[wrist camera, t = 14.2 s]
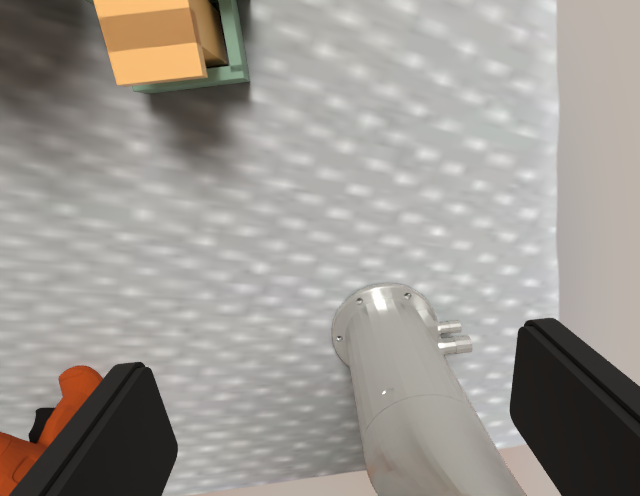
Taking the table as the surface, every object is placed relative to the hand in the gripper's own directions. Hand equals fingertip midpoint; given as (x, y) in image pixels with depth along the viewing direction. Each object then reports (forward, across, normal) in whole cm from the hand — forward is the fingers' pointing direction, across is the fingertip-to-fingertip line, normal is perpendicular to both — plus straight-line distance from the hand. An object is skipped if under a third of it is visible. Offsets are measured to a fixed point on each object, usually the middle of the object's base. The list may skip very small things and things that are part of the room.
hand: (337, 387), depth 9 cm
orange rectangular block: (+28, +10, -14) cm, 33 cm away
